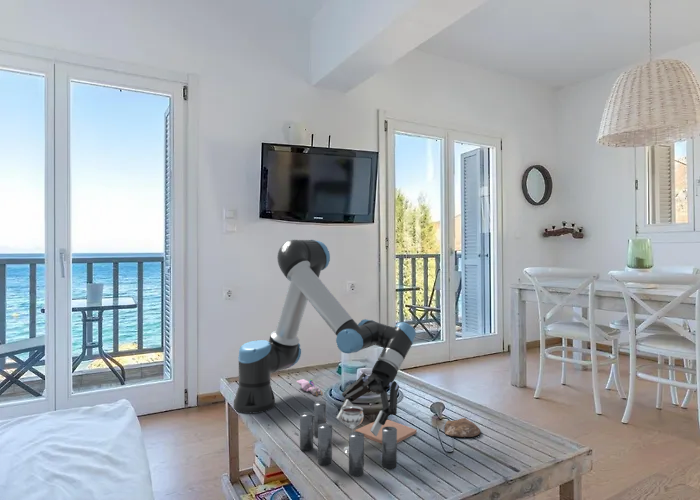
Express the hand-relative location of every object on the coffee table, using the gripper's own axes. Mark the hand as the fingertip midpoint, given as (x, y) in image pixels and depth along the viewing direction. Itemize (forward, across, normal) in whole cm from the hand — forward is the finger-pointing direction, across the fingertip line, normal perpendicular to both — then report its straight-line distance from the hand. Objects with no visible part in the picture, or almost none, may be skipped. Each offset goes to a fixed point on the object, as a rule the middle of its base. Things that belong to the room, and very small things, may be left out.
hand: (355, 426), depth 130 cm
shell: (-19, -16, -30) cm, 38 cm away
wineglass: (+5, +1, -4) cm, 7 cm away
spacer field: (+9, +1, 0) cm, 9 cm away
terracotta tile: (-6, +1, -16) cm, 17 cm away
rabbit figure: (-13, +49, -22) cm, 55 cm away
